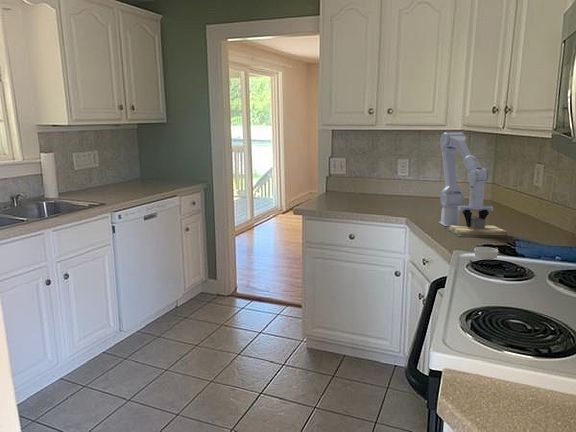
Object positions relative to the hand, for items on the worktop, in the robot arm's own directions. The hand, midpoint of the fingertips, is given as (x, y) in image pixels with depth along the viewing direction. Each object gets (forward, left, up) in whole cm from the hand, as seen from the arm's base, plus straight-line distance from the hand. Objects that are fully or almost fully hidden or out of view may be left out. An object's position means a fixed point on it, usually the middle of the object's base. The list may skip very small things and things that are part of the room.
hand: (474, 226), depth 193 cm
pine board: (0, +2, -3) cm, 3 cm away
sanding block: (+1, 0, -1) cm, 1 cm away
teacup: (+47, -15, -3) cm, 49 cm away
